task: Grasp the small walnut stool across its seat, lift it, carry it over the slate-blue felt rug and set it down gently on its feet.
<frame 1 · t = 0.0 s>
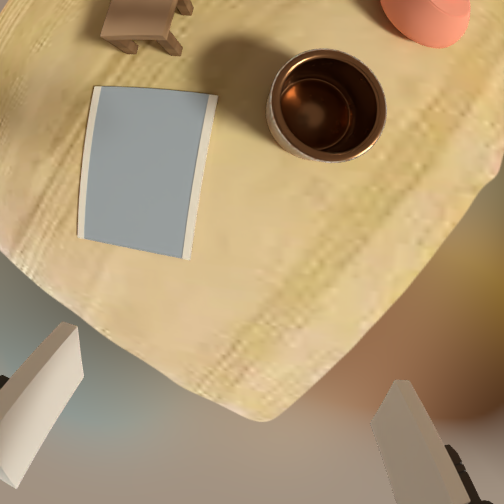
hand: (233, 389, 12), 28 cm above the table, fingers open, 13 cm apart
rug: (139, 169, 36), on the table
sugar bowl: (413, 8, 29), on the table
planter: (312, 114, 34), on the table
stool: (159, 29, 31), on the table
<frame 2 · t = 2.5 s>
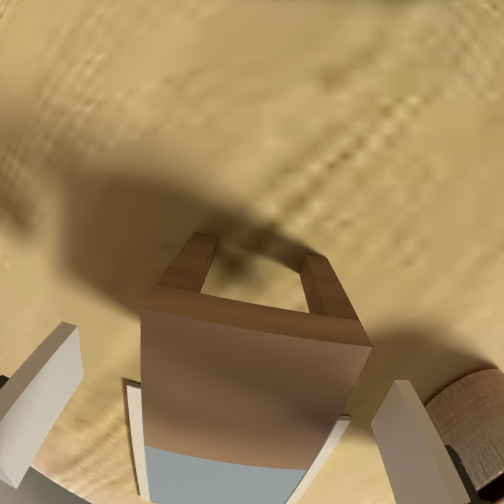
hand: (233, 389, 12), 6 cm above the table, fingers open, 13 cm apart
rug: (222, 473, 24), on the table
planter: (456, 411, 21), on the table
stool: (248, 304, 18), on the table
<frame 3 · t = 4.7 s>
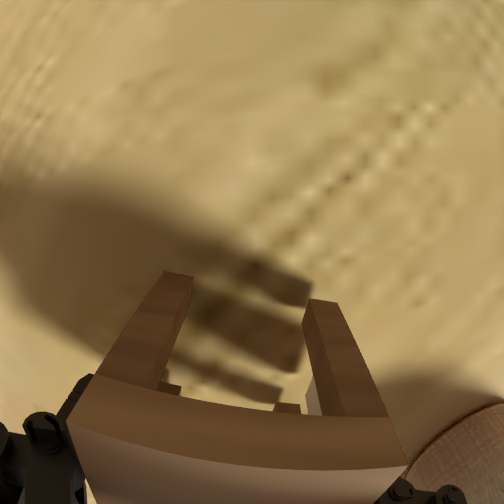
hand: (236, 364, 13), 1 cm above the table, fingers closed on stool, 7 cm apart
planter: (460, 446, 18), on the table
stool: (236, 359, 14), point 1 cm above the table, touching gripper
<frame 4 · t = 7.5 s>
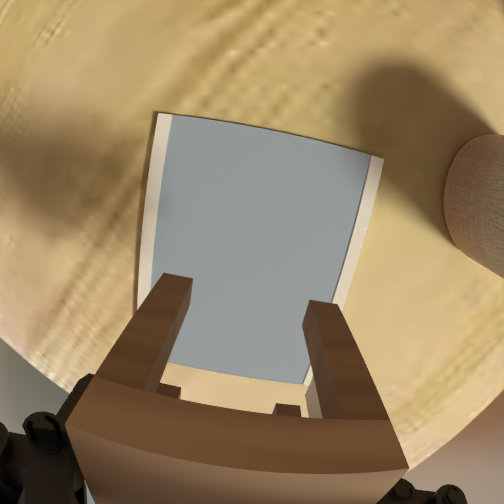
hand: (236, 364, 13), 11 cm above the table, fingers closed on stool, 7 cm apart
rug: (246, 267, 24), on the table
planter: (485, 196, 22), on the table
stool: (236, 360, 13), point 11 cm above the table, touching gripper
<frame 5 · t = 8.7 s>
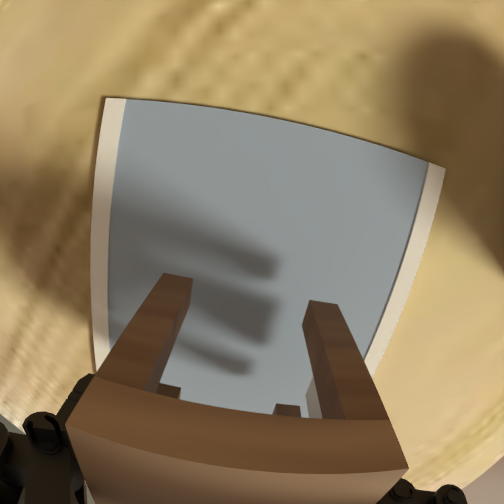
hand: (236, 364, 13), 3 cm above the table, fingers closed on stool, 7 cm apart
rug: (240, 325, 16), on the table
stool: (236, 360, 13), point 3 cm above the table, touching gripper
when the fingers open (1 cm above the table, at t = 10.0 s): stool stays where it is, resting on rug.
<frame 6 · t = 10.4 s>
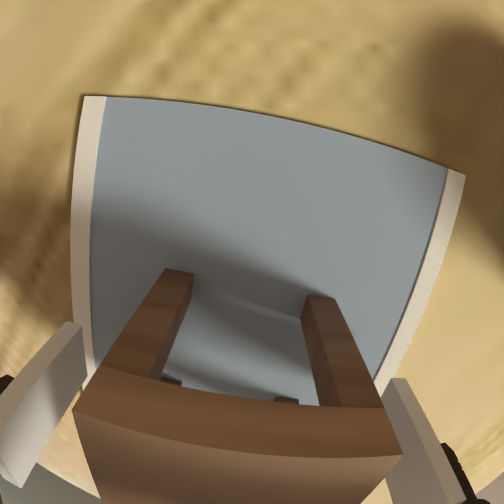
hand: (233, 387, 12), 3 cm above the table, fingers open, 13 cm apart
rug: (237, 349, 14), on the table
stool: (236, 354, 14), resting on rug
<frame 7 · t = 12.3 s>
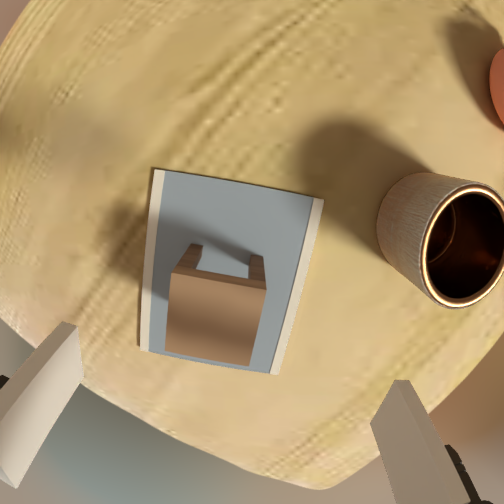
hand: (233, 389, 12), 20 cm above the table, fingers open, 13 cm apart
rug: (221, 282, 32), on the table
planter: (418, 222, 31), on the table
stool: (221, 283, 32), resting on rug
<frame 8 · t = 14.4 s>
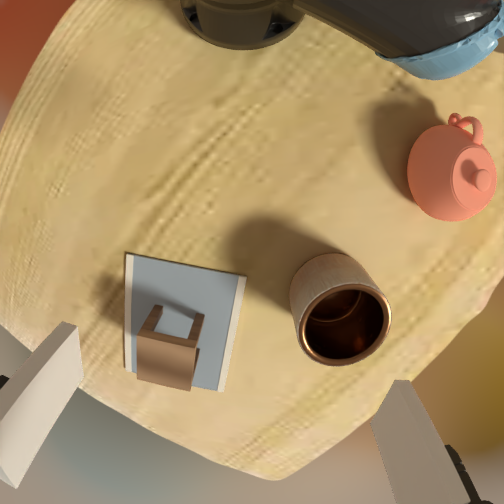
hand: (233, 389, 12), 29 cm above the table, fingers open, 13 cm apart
rug: (178, 329, 44), on the table
sugar bowl: (438, 164, 36), on the table
planter: (328, 289, 42), on the table
stool: (177, 330, 43), resting on rug
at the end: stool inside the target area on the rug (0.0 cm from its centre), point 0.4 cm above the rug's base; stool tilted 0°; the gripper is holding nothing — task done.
